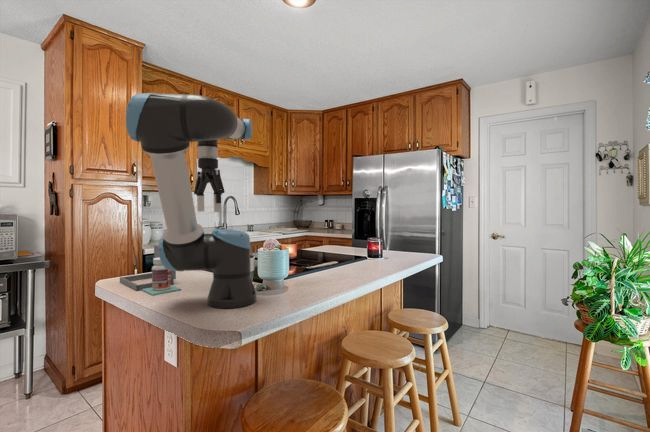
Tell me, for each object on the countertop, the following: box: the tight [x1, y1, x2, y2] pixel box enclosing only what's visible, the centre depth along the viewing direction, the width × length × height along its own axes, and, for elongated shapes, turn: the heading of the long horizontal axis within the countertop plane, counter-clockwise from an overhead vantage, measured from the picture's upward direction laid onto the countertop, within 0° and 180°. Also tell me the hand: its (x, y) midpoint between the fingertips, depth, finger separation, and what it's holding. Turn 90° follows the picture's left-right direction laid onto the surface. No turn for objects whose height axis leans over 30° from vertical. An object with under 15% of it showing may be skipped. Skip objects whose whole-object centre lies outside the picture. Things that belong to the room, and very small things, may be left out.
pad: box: [141, 284, 182, 296], centre depth 123 cm, size 10×10×1 cm
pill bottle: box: [151, 257, 171, 291], centre depth 123 cm, size 6×6×11 cm
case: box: [119, 244, 177, 292], centre depth 134 cm, size 20×14×14 cm
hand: (208, 211), depth 134 cm, fingers open, 13 cm apart
